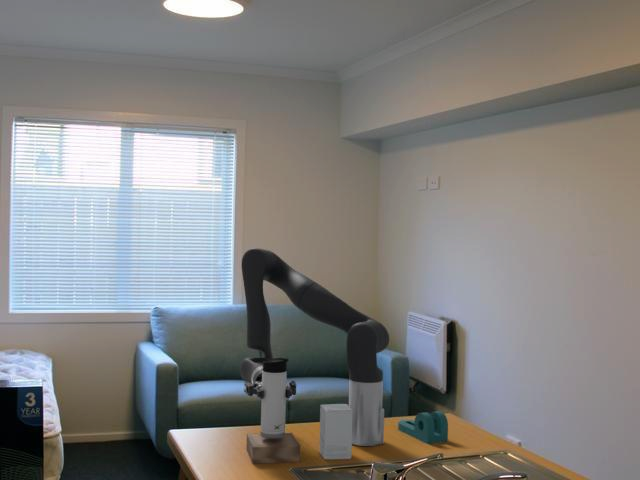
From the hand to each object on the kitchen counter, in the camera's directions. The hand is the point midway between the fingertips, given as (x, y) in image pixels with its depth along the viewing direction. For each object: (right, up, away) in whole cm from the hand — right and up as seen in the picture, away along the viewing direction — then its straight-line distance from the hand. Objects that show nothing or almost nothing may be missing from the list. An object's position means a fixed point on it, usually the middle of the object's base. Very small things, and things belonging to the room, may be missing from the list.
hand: (275, 394), depth 191 cm
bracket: (+40, -17, +27) cm, 51 cm away
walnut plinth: (-1, -16, +2) cm, 16 cm away
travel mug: (-1, -11, +3) cm, 12 cm away
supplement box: (+15, -17, +4) cm, 23 cm away
